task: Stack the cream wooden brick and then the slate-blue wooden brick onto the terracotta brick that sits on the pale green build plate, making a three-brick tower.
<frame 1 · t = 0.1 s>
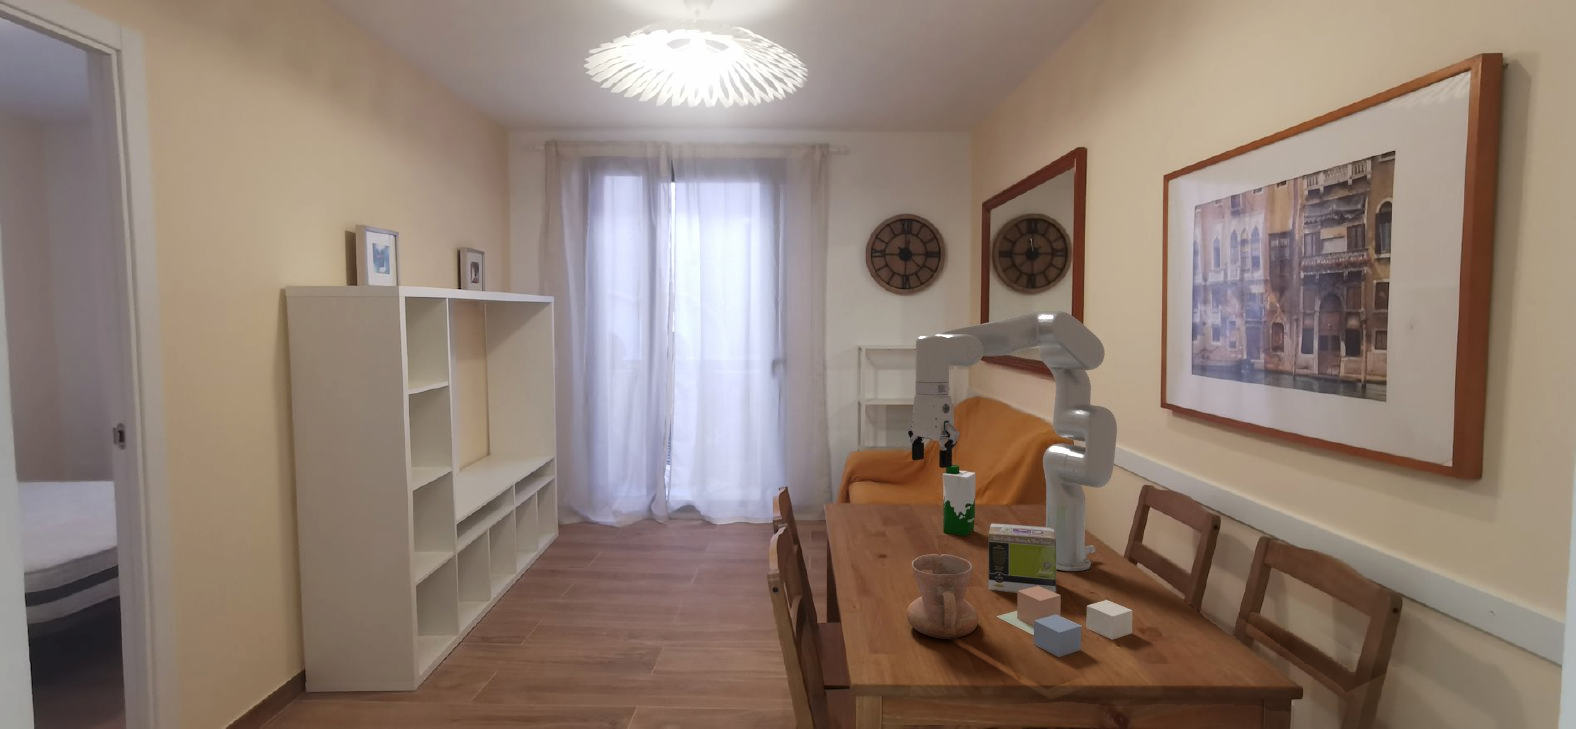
hand: (931, 463, 162), 31 cm above the table, tool pointing down, fingers open, 9 cm apart
slate brick: (1056, 653, 136), on the table
build plate: (1038, 626, 147), on the table
tea box: (1021, 591, 167), on the table
cream brick: (1108, 636, 143), on the table
terracotta brick: (1038, 621, 147), point 1 cm above the table, touching build plate
milk carton: (958, 532, 214), on the table
ceramic jug: (942, 632, 145), on the table
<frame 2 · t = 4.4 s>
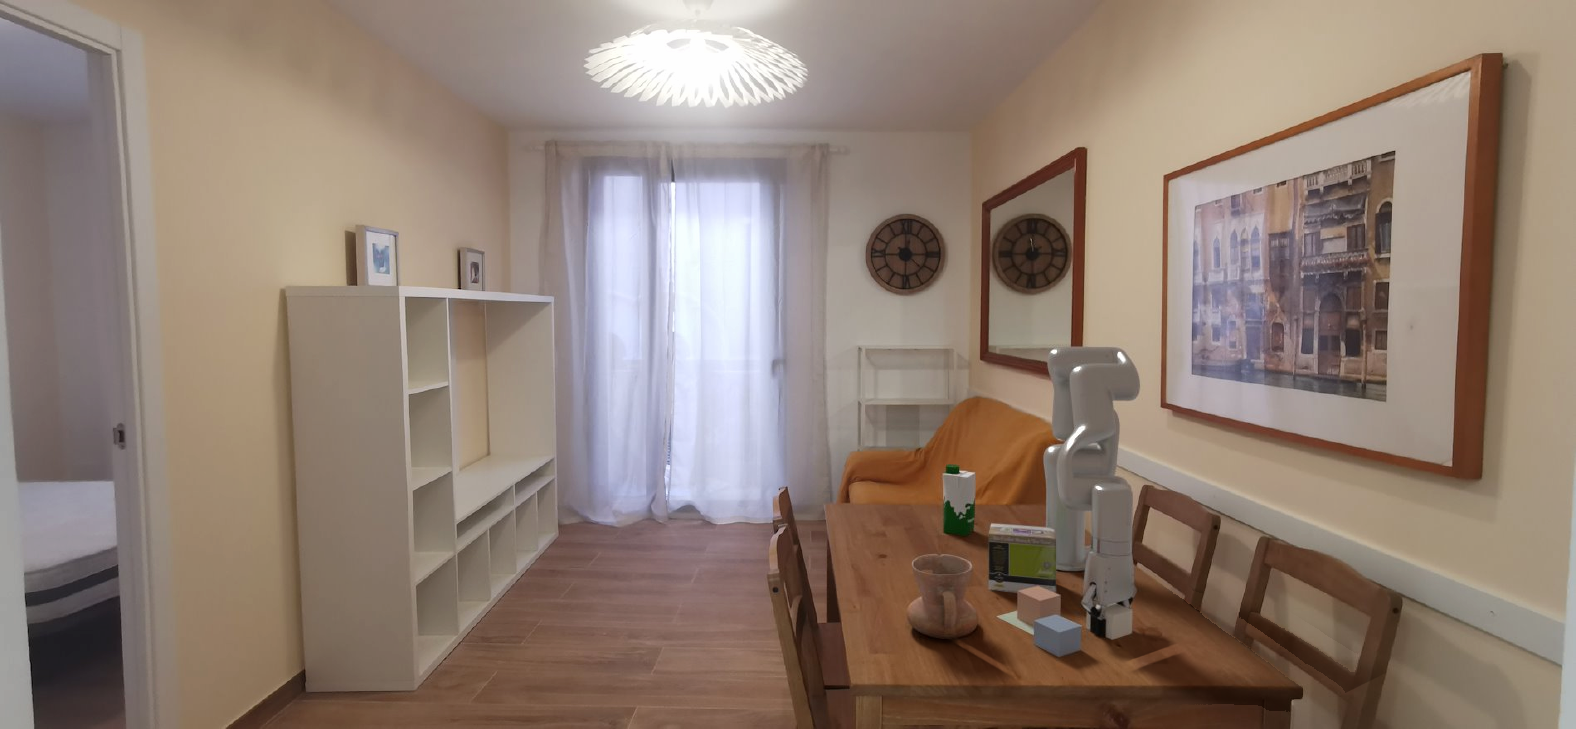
hand: (1108, 632, 143), 1 cm above the table, tool pointing down, fingers closed on cream brick, 6 cm apart
cream brick: (1108, 636, 143), on the table, touching gripper
everything else where it was.
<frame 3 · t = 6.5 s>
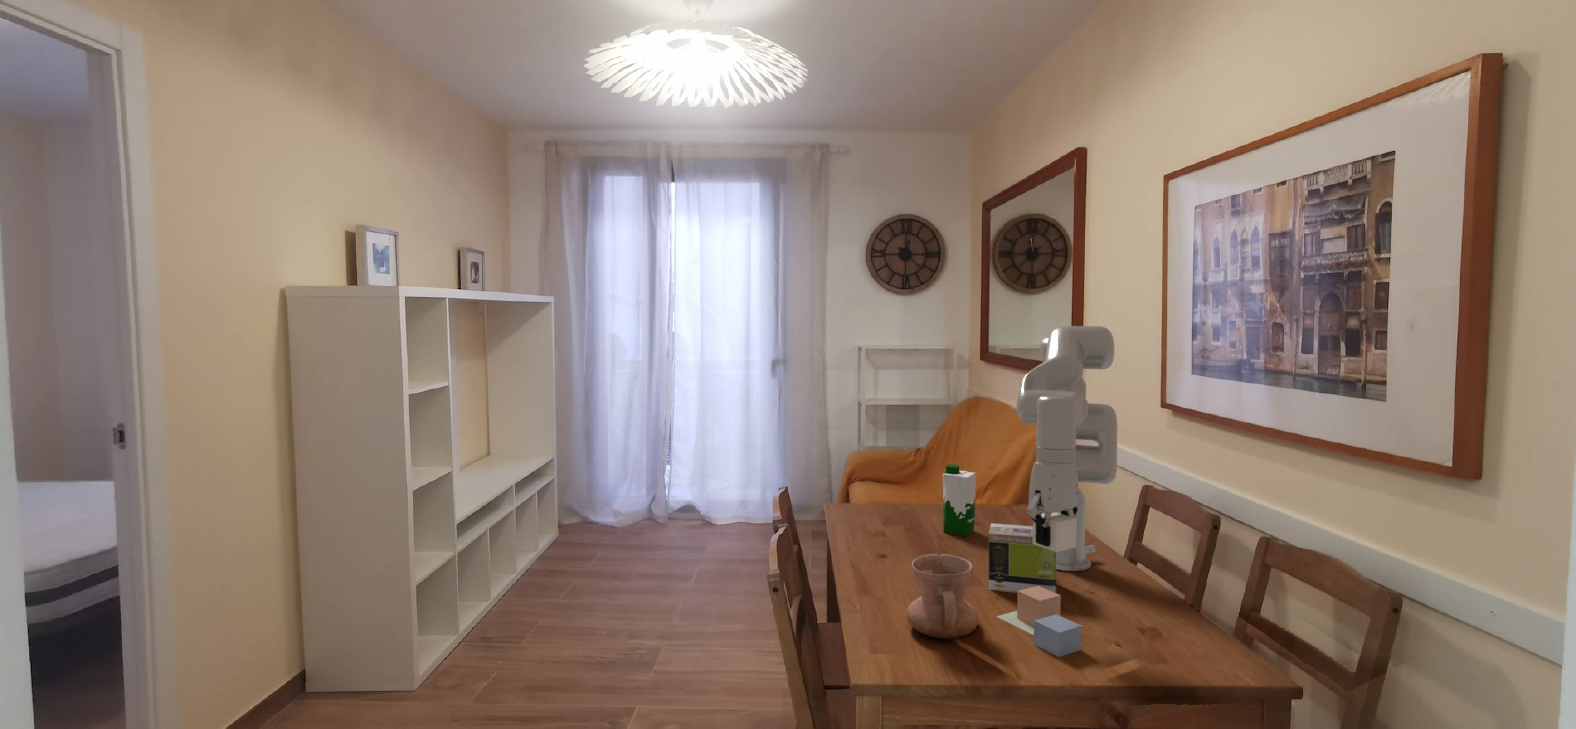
hand: (1053, 541, 145), 19 cm above the table, tool pointing down, fingers closed on cream brick, 6 cm apart
cream brick: (1054, 545, 145), point 18 cm above the table, touching gripper
everything else where it was.
when the fingers open (9 cm above the table, at t = 9.0 s): cream brick stays where it is, resting on terracotta brick.
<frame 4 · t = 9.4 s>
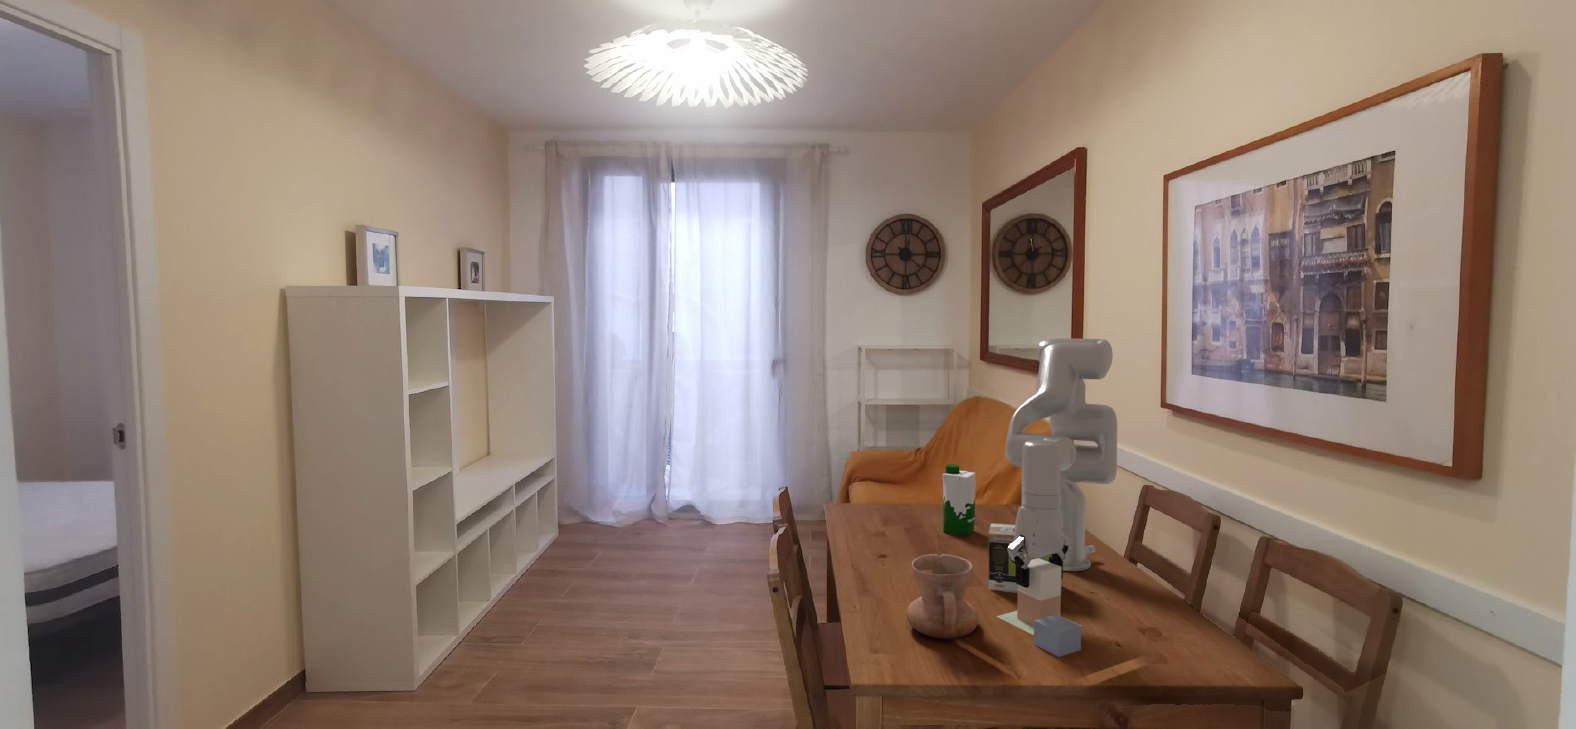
hand: (1039, 581, 147), 10 cm above the table, tool pointing down, fingers open, 9 cm apart
cream brick: (1039, 592, 147), point 7 cm above the table, touching terracotta brick
terracotta brick: (1038, 621, 147), point 1 cm above the table, touching build plate, cream brick
everything else where it was.
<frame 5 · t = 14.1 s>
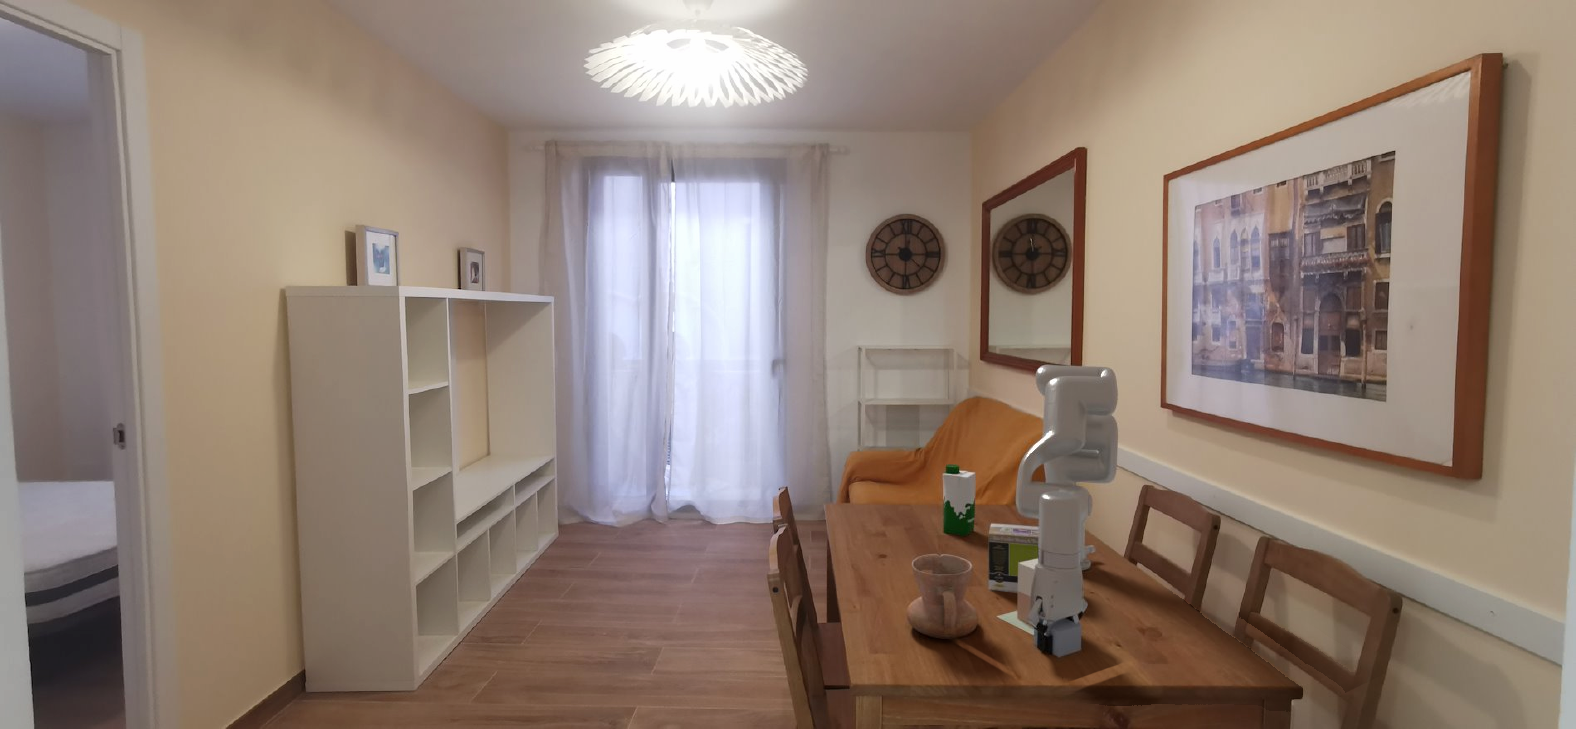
hand: (1057, 648, 136), 1 cm above the table, tool pointing down, fingers closed on slate brick, 6 cm apart
slate brick: (1057, 653, 136), on the table, touching gripper
everything else where it was.
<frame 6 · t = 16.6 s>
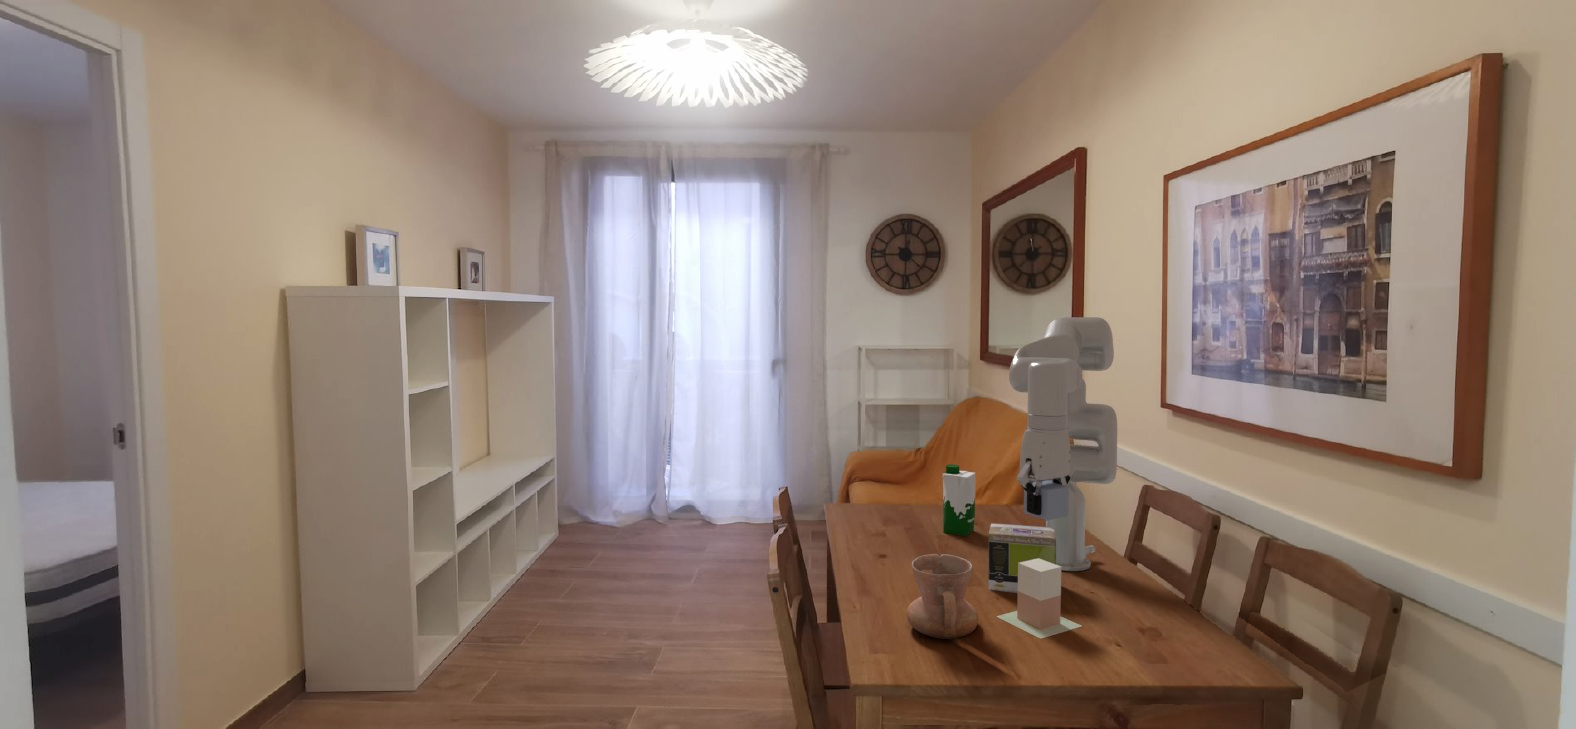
hand: (1045, 510, 143), 26 cm above the table, tool pointing down, fingers closed on slate brick, 6 cm apart
slate brick: (1045, 514, 143), point 25 cm above the table, touching gripper
everything else where it was.
when the fingers open (15 cm above the table, at t = 19.5 s): slate brick stays where it is, resting on cream brick.
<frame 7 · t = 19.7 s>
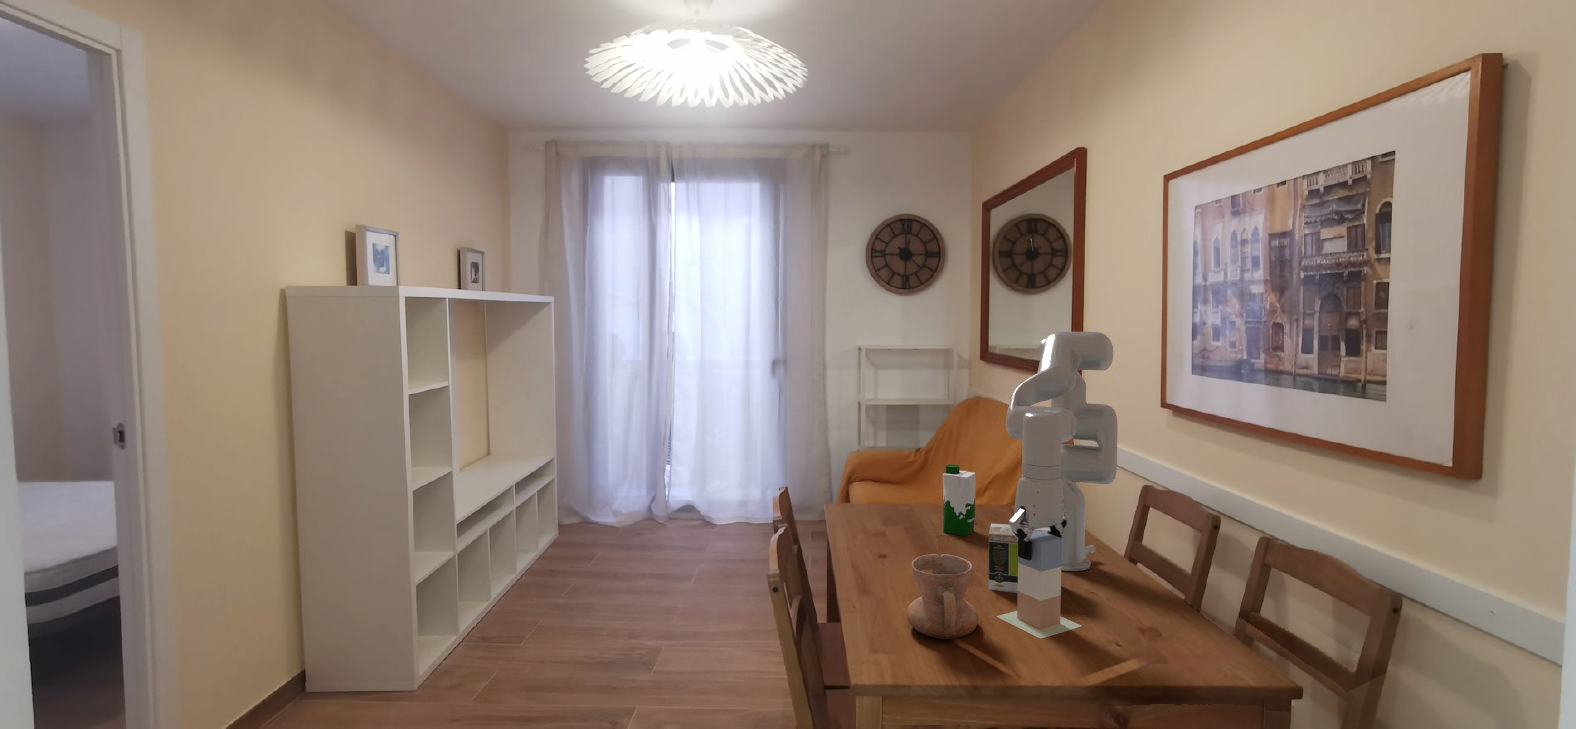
hand: (1039, 554, 146), 15 cm above the table, tool pointing down, fingers open, 8 cm apart
slate brick: (1039, 564, 146), point 13 cm above the table, touching cream brick
cream brick: (1039, 592, 147), point 7 cm above the table, touching slate brick, terracotta brick
everything else where it was.
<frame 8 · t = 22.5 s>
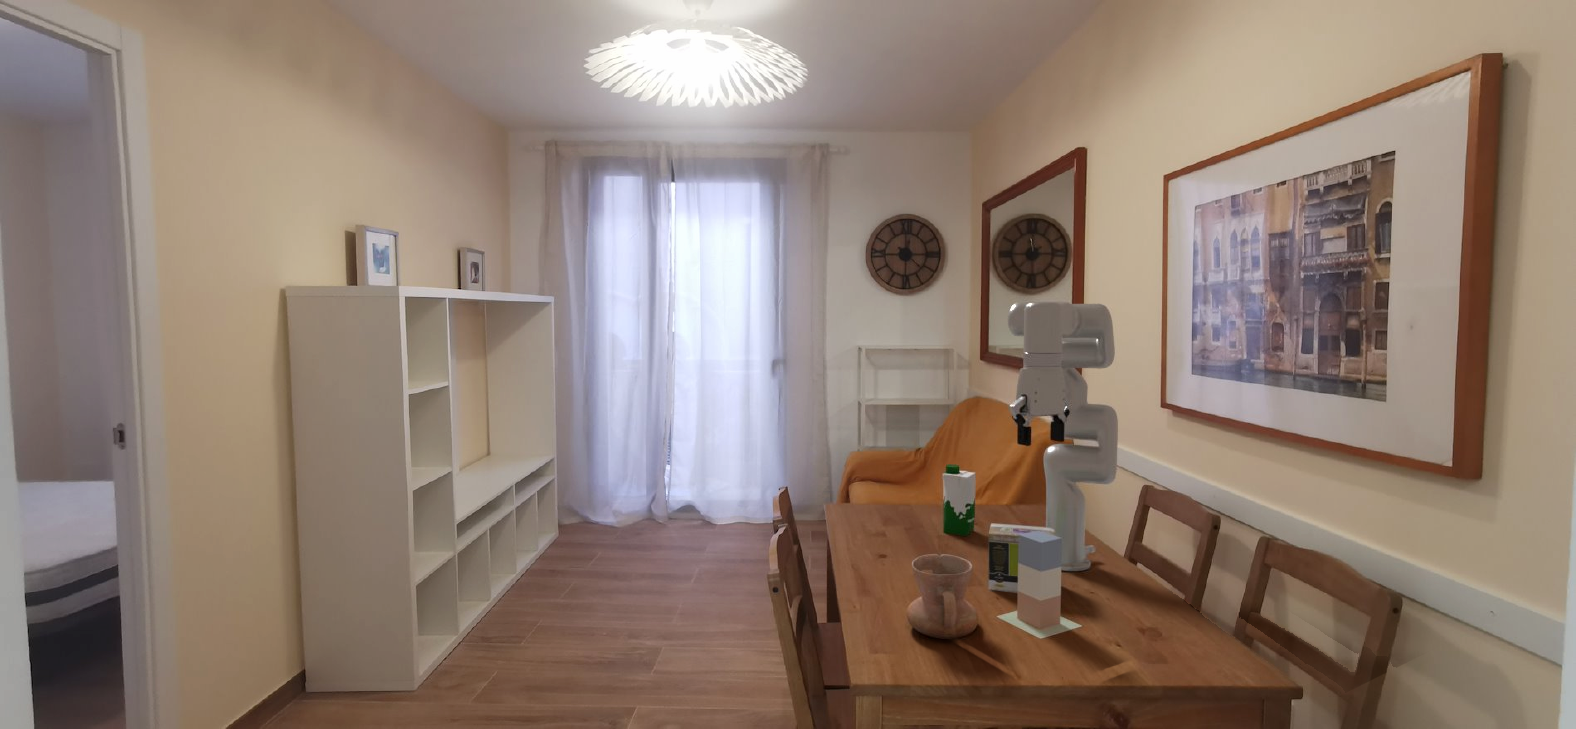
hand: (1040, 442, 148), 38 cm above the table, tool pointing down, fingers open, 9 cm apart
nothing on the table moved.
at the end: cream brick 0.0 cm off-centre on the terracotta brick, point 6.0 cm above the terracotta brick's base; slate brick 0.0 cm off-centre on the terracotta brick, point 12.0 cm above the terracotta brick's base; slate brick tilted 0° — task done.
